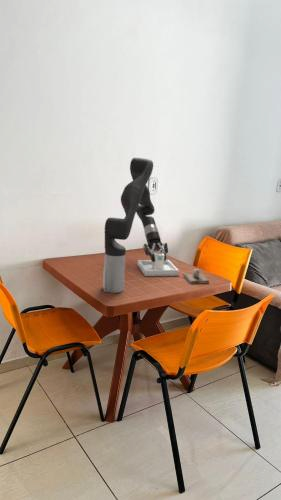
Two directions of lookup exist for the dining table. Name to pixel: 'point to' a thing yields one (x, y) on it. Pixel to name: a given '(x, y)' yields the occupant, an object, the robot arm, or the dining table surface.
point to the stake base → (197, 280)
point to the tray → (150, 271)
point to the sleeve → (158, 260)
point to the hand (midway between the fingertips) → (159, 261)
